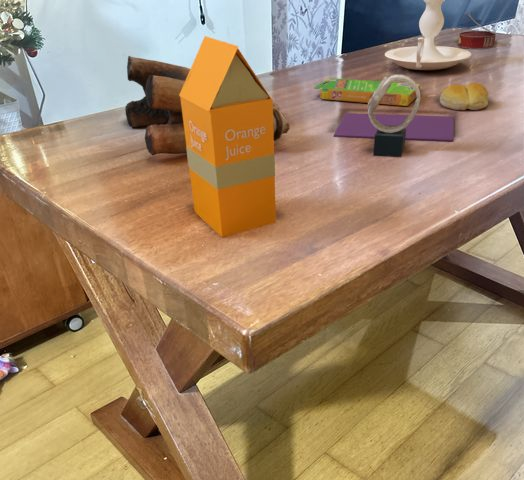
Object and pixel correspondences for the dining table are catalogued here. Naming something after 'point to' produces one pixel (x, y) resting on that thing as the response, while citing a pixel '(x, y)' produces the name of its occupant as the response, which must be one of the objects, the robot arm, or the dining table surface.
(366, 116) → the cloth
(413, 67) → the candlestick
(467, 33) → the canned food
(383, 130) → the watch
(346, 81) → the game box
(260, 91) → the orange juice
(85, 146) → the dining table surface
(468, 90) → the bread roll
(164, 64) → the stacked firewood logs
